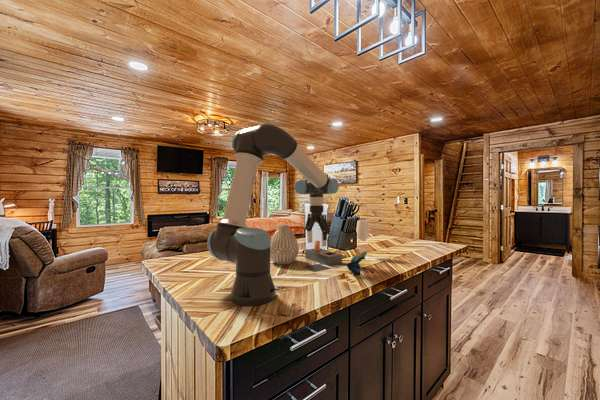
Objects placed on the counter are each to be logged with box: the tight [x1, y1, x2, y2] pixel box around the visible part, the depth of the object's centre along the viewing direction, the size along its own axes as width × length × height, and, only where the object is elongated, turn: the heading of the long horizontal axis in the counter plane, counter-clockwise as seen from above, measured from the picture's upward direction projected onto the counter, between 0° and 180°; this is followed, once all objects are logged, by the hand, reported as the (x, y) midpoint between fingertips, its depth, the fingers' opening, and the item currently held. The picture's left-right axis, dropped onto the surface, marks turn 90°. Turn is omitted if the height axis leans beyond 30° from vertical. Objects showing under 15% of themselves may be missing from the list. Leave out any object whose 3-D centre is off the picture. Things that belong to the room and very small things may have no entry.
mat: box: [302, 263, 332, 273], centre depth 124 cm, size 10×10×1 cm
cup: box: [356, 219, 371, 242], centre depth 147 cm, size 7×7×21 cm
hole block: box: [305, 247, 343, 267], centre depth 137 cm, size 20×9×5 cm, turn 33°
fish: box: [346, 251, 368, 276], centre depth 114 cm, size 4×10×10 cm, turn 112°
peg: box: [313, 240, 321, 251], centre depth 142 cm, size 3×3×10 cm
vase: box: [270, 223, 300, 266], centre depth 134 cm, size 16×16×20 cm
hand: (316, 244), depth 142 cm, fingers open, 12 cm apart
